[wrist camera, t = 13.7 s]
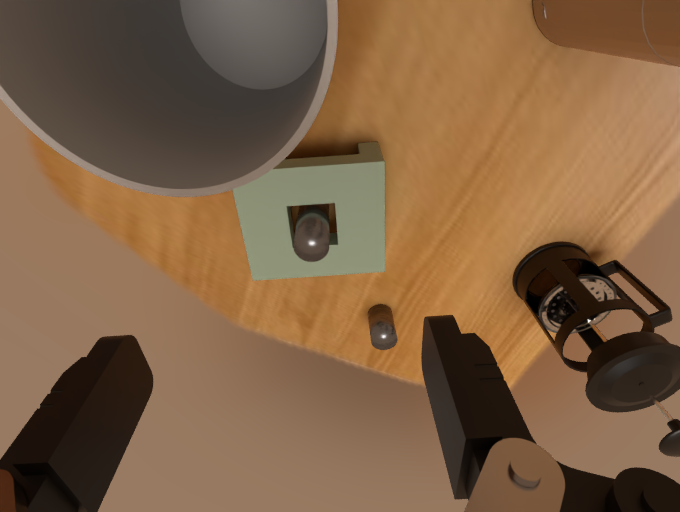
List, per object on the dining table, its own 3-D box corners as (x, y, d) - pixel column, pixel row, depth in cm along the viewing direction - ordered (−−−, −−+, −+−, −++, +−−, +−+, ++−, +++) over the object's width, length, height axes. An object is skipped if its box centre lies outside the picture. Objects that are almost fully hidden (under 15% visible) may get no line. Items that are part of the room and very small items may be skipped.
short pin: (391, 303, 52) (397, 330, 47) (391, 321, 53) (397, 349, 49) (367, 305, 52) (370, 331, 48) (368, 323, 53) (371, 350, 49)
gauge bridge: (377, 141, 40) (384, 161, 35) (378, 242, 47) (384, 271, 42) (241, 151, 40) (228, 172, 35) (261, 250, 47) (253, 280, 42)
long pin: (328, 185, 43) (327, 229, 34) (330, 212, 44) (330, 260, 36) (298, 187, 43) (291, 232, 34) (302, 214, 44) (295, 263, 36)
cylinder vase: (347, -57, 32) (385, -181, 11) (315, 102, 38) (300, 223, 17) (187, -107, 30) (-154, -378, 9) (182, 69, 36) (-21, 159, 15)
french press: (520, 315, 53) (629, 492, 34) (497, 266, 49) (607, 437, 30) (609, 277, 50) (786, 448, 31) (593, 221, 46) (788, 380, 26)
